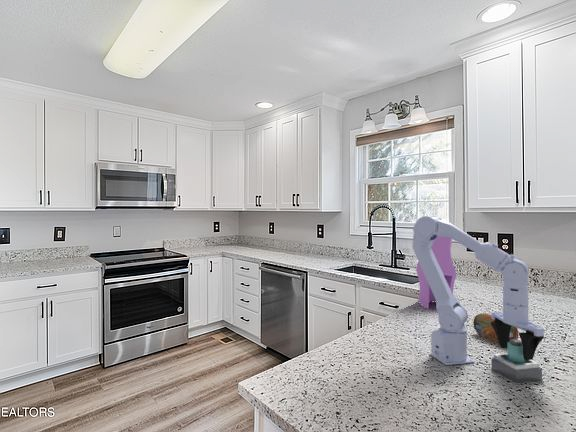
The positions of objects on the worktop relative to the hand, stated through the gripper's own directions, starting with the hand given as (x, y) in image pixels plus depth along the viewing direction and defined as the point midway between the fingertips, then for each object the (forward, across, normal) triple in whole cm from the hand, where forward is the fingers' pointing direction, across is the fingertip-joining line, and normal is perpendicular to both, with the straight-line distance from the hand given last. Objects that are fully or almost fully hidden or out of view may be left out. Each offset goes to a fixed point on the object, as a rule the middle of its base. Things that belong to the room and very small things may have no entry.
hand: (515, 353), depth 89 cm
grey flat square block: (+6, 0, 0) cm, 6 cm away
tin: (+6, +22, -14) cm, 27 cm away
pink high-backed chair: (+6, +66, -21) cm, 69 cm away
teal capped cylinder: (+3, 0, 0) cm, 3 cm away
